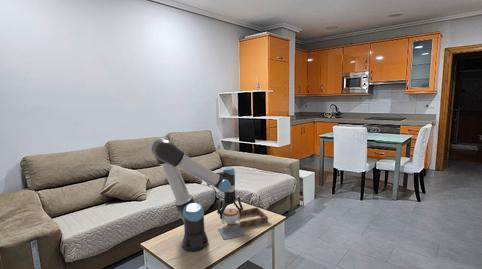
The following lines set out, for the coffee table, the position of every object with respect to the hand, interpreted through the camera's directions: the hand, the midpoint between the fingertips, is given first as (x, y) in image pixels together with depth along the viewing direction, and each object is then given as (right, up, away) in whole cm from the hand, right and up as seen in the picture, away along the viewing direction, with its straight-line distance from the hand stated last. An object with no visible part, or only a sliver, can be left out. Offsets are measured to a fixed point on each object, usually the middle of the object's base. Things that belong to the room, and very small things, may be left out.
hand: (230, 221), depth 184 cm
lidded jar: (0, -1, 0) cm, 1 cm away
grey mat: (+1, -3, -11) cm, 12 cm away
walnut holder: (+14, 0, +5) cm, 15 cm away
